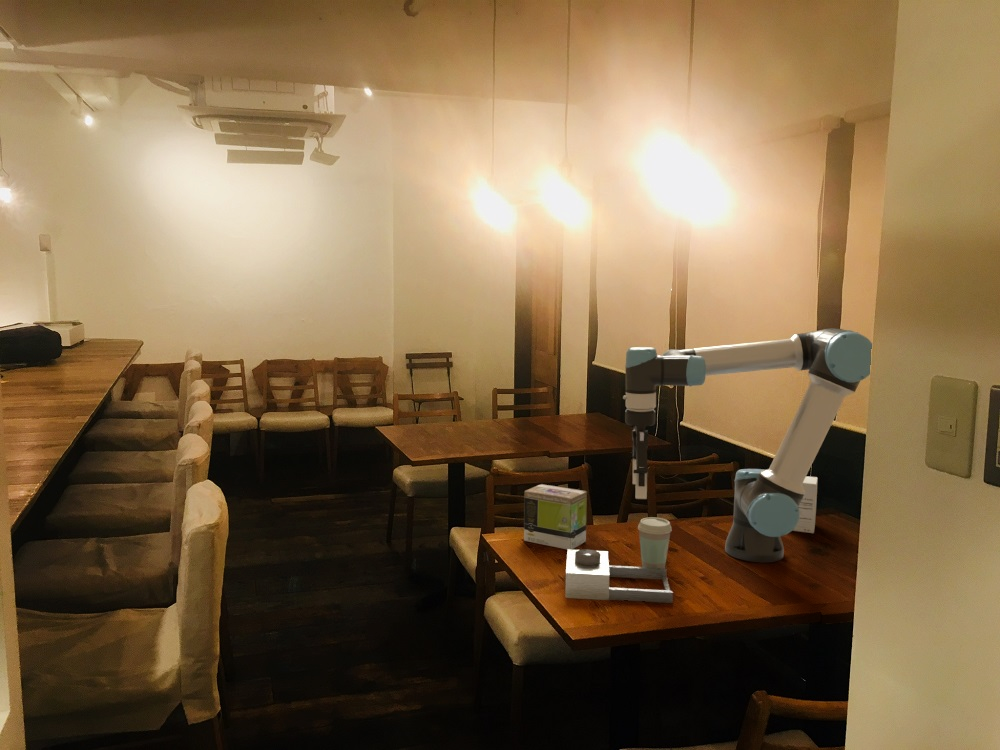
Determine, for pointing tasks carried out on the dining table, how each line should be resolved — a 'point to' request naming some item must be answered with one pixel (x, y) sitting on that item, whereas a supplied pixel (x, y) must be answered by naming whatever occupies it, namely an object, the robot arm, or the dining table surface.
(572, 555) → the button box with rail
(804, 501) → the supplement box
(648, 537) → the coffee cup
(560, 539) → the tea box
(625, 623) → the dining table surface
